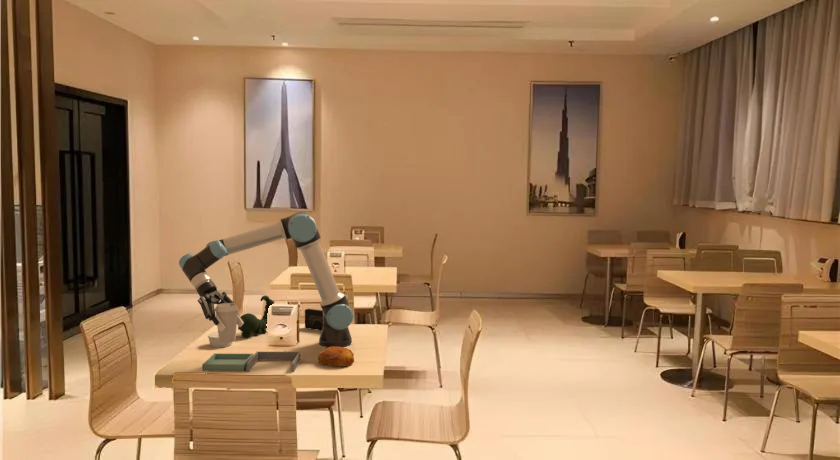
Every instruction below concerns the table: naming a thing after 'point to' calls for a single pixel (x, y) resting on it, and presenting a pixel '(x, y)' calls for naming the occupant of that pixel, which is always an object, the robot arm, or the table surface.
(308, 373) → the table surface
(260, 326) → the toy figurine
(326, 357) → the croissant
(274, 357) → the dock
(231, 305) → the coffee cup
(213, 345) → the ramekin
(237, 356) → the tray
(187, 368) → the table surface
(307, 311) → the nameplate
